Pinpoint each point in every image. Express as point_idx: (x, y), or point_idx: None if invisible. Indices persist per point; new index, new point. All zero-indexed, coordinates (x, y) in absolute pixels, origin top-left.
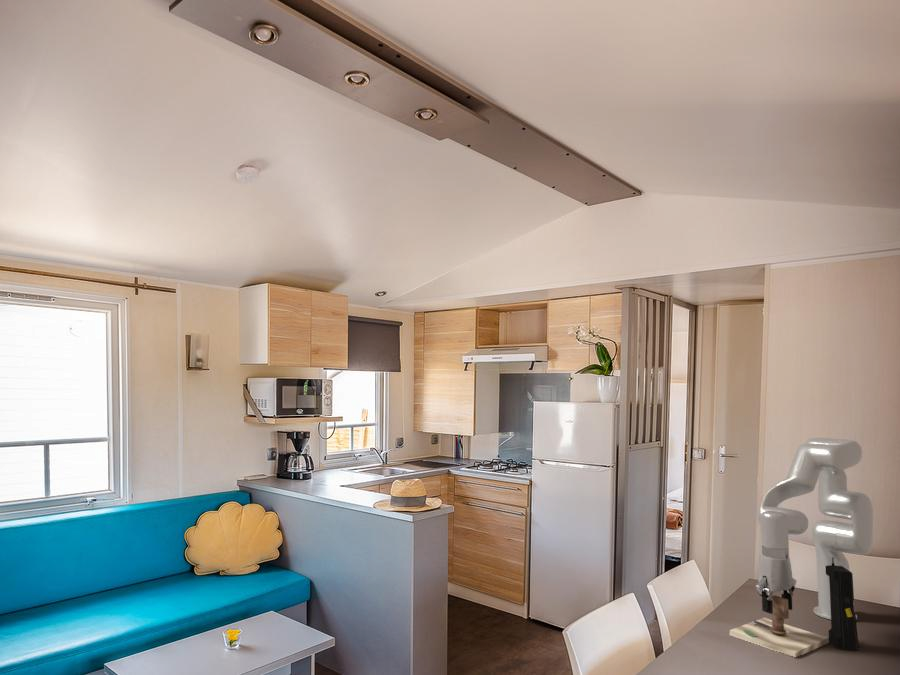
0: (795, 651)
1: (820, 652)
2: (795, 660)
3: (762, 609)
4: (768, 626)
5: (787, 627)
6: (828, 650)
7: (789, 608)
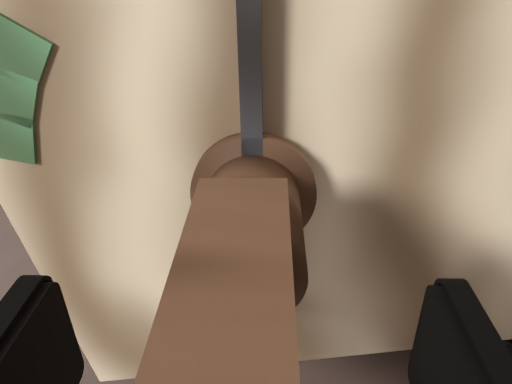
0: (113, 375)
1: (306, 361)
2: (89, 368)
3: (16, 282)
4: (241, 109)
5: (474, 115)
6: (373, 362)
7: (412, 375)
